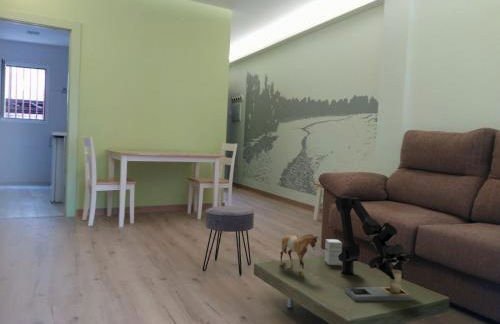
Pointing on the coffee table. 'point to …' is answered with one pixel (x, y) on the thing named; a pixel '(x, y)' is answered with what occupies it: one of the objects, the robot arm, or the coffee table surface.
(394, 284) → the peg
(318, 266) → the coffee table surface
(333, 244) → the supplement box
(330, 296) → the coffee table surface
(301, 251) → the horse figurine
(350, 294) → the board with square holes
